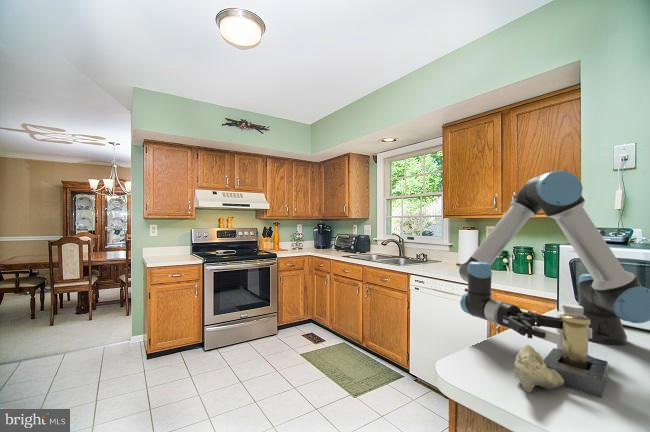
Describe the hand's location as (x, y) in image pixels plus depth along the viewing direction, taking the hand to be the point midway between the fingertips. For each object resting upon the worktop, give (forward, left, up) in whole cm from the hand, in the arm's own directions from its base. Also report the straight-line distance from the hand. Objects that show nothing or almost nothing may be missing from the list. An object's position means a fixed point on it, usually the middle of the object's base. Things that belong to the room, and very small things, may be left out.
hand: (576, 336), depth 84 cm
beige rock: (+16, +4, -11) cm, 20 cm away
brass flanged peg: (0, 0, -11) cm, 11 cm away
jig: (0, 0, -11) cm, 11 cm away
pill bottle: (-16, -14, -11) cm, 24 cm away
